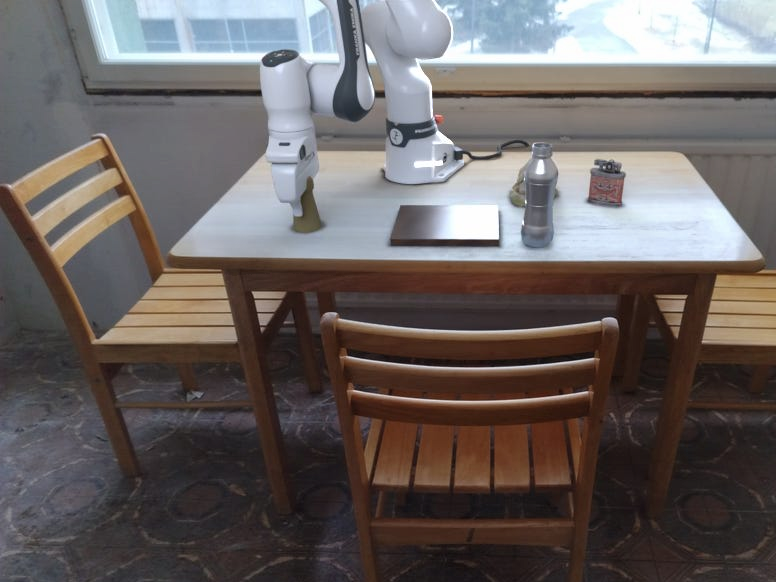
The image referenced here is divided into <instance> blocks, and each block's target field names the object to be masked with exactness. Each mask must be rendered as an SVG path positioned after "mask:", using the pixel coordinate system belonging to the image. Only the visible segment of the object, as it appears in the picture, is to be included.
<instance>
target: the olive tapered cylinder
mask: <svg viewBox="0 0 776 582" xmlns="http://www.w3.org/2000/svg"><path fill="white" fill-rule="evenodd" d="M306 184H307V187H306V190H305V191H304V193H303V194H302V195H301V197H300V198H301V200H300V202H301V206H303V210H304V213H303V214H302V216H294V215H293V214H292V220H293V222H292V226H293V230H294V231H296V232H300V233H311V232H315V231H319V230H320V229H321V228H322V227H323V223H322V220H321V216H320V213H319V210H318V206H317V203H316V199H315V196H314V189H315V181H314V178H313V179H312V178H311V177H310V176H309V177H308V178H307V183H306ZM312 191H313V192H312Z"/></svg>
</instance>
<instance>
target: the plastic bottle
mask: <svg viewBox="0 0 776 582" xmlns="http://www.w3.org/2000/svg"><path fill="white" fill-rule="evenodd" d="M531 147H532V149H531V157H532V156H533V158H532V159H531V161H530V162H529V163H528V165H527V166H526V168H525V171H524V181H525V199H526V201H525V206H524V213H523V221H522V222H521V228H520V238H521V241H522V242H523V243H524V245H526V246H528V247H531V248H532V247H533V248H543V247H547V246H549V245H550V244H551V243H552V241H553V238H554V235H555V227H554V200H555V196H554V193H555V188H556V189H557V184H558V180H559V169H558V166H557V165H556V163H555V162H554V161H553V159H552V157H553V153H554V152H553V144H552V143H549V142H543V141H541V142H540V141H539V142H534V143H533V144H532V146H531Z"/></svg>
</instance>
